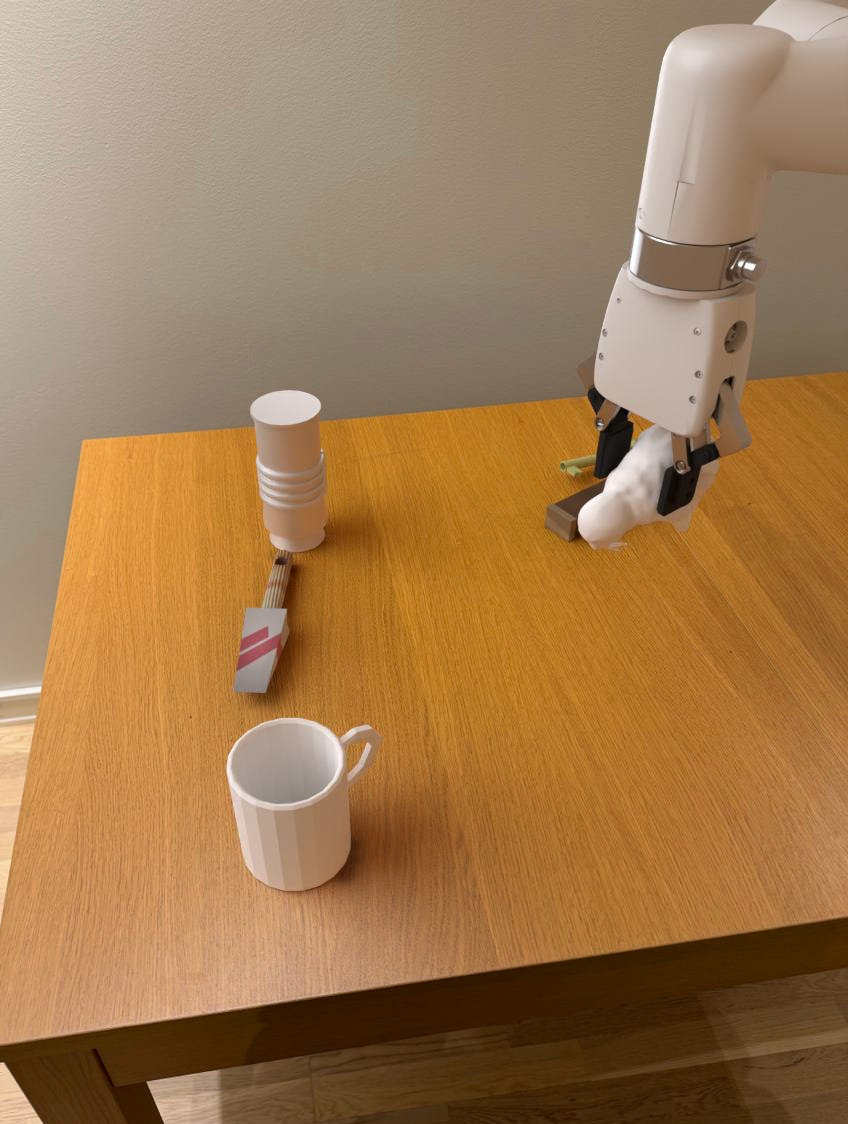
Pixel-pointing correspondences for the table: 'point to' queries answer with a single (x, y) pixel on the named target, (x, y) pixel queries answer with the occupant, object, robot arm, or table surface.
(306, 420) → the white ribbed cylinder
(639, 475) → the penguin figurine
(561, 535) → the walnut bar
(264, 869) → the mug
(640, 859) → the table surface
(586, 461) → the key
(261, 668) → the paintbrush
